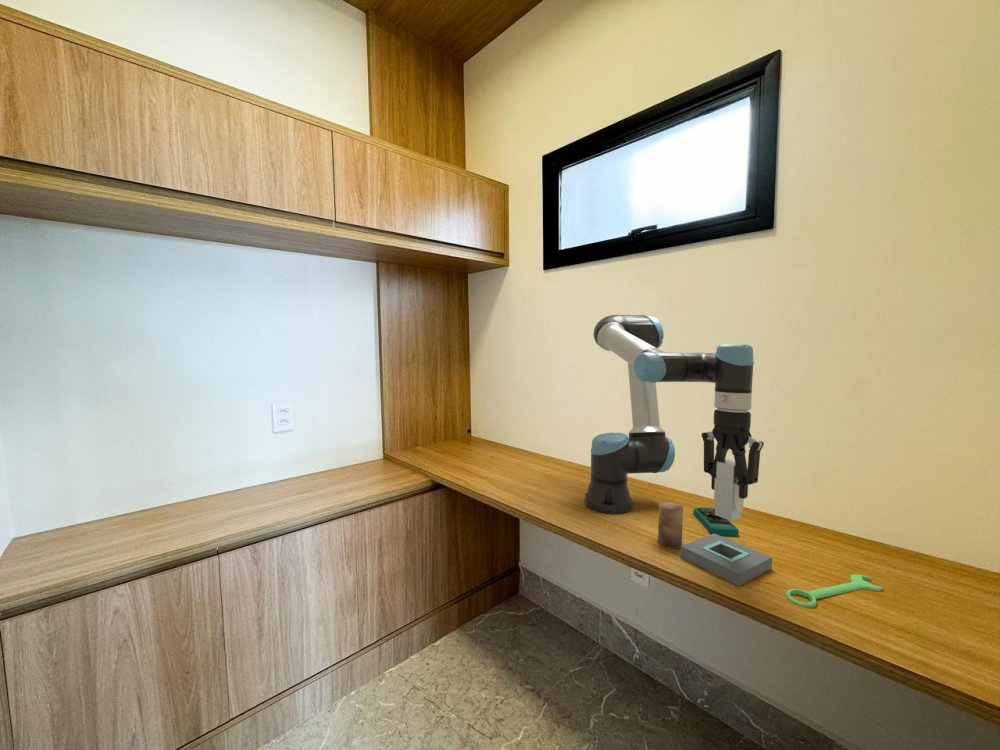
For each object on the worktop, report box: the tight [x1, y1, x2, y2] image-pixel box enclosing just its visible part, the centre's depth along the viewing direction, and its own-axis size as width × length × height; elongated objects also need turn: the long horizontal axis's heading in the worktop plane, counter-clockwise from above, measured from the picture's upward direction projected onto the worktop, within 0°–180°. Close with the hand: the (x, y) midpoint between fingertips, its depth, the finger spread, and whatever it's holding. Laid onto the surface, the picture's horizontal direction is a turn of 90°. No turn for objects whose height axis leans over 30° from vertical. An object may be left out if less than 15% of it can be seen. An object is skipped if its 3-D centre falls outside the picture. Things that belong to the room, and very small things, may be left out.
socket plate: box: [680, 533, 773, 587], centre depth 95 cm, size 14×14×3 cm
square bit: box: [714, 458, 742, 522], centre depth 94 cm, size 4×4×13 cm
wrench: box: [785, 573, 884, 608], centre depth 84 cm, size 25×2×5 cm
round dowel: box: [657, 501, 684, 549], centre depth 105 cm, size 6×6×10 cm
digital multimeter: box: [692, 506, 739, 537], centre depth 117 cm, size 7×15×3 cm, turn 173°
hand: (728, 507), depth 94 cm, fingers closed on square bit, 4 cm apart
